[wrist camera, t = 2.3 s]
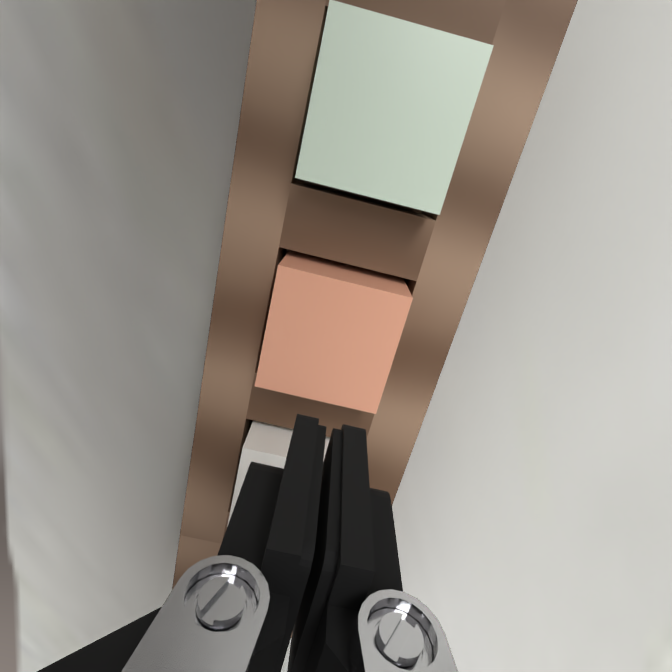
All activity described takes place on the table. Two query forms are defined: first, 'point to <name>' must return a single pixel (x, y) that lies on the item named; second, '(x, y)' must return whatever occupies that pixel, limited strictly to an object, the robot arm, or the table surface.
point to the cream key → (264, 451)
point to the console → (352, 237)
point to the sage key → (389, 107)
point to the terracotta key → (332, 331)
